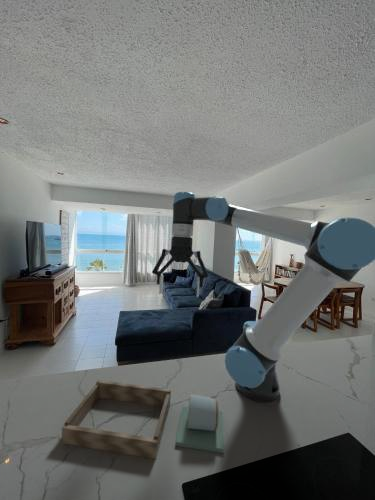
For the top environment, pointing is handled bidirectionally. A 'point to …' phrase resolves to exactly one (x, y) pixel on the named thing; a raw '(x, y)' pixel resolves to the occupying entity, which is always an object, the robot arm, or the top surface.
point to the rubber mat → (200, 435)
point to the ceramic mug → (202, 413)
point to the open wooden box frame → (113, 439)
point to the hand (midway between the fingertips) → (179, 294)
